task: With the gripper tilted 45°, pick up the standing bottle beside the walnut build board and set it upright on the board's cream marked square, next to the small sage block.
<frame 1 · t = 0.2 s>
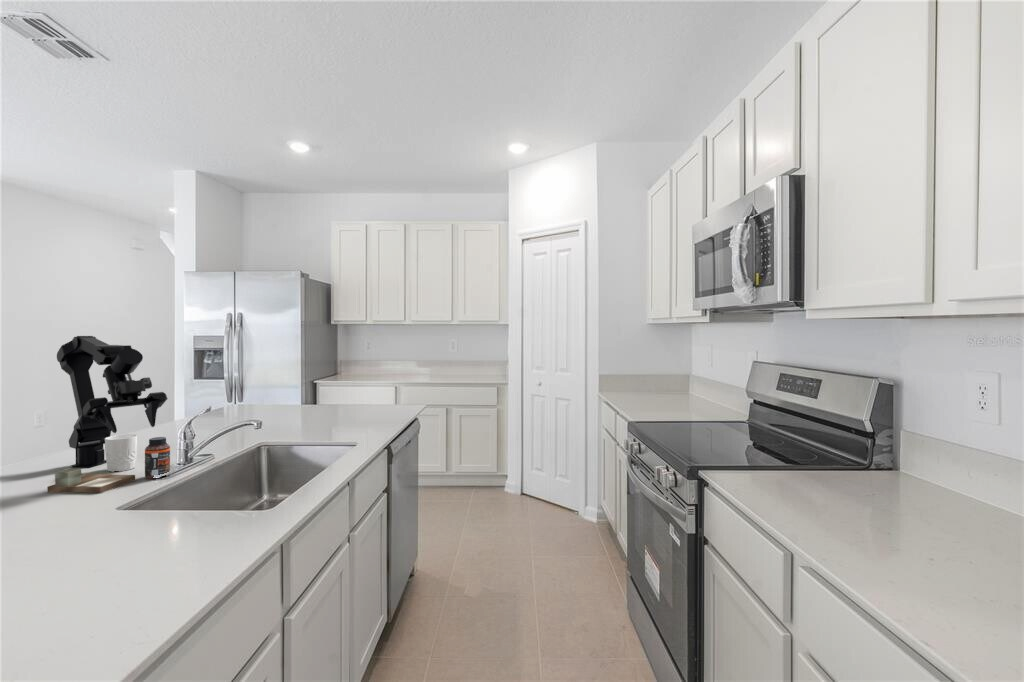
hand: (135, 429, 136), 14 cm above the counter, tool tilted 35°, fingers open, 9 cm apart
build board: (93, 485, 130), on the counter
white cup: (121, 469, 146), on the counter
supplement bottle: (157, 477, 139), on the counter
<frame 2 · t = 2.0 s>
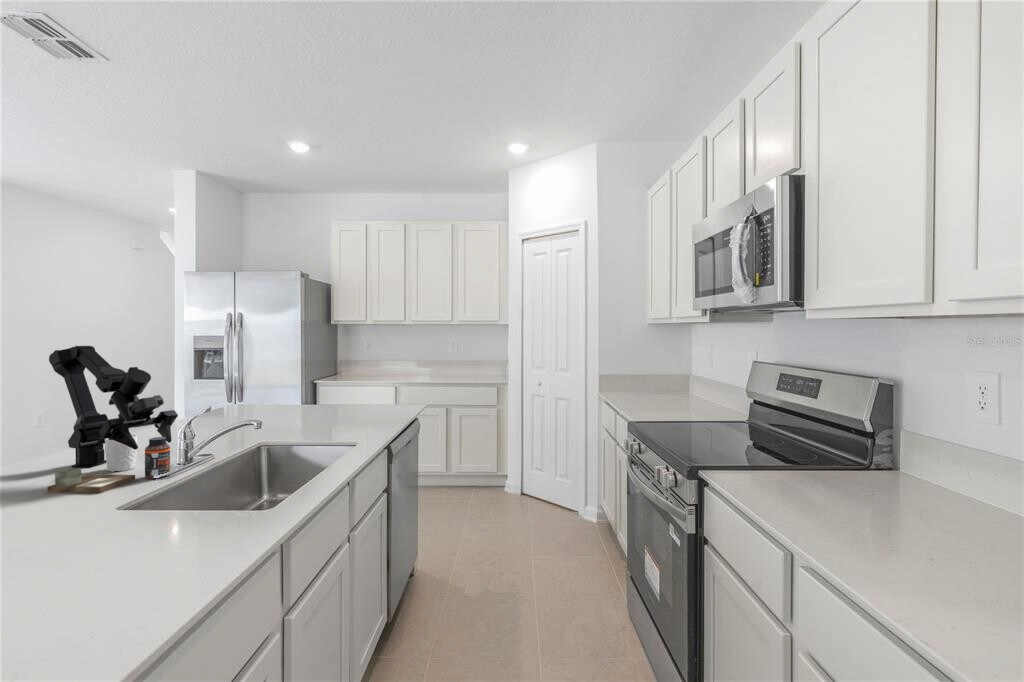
hand: (154, 445, 139), 9 cm above the counter, tool tilted 45°, fingers open, 9 cm apart
nothing on the counter moved.
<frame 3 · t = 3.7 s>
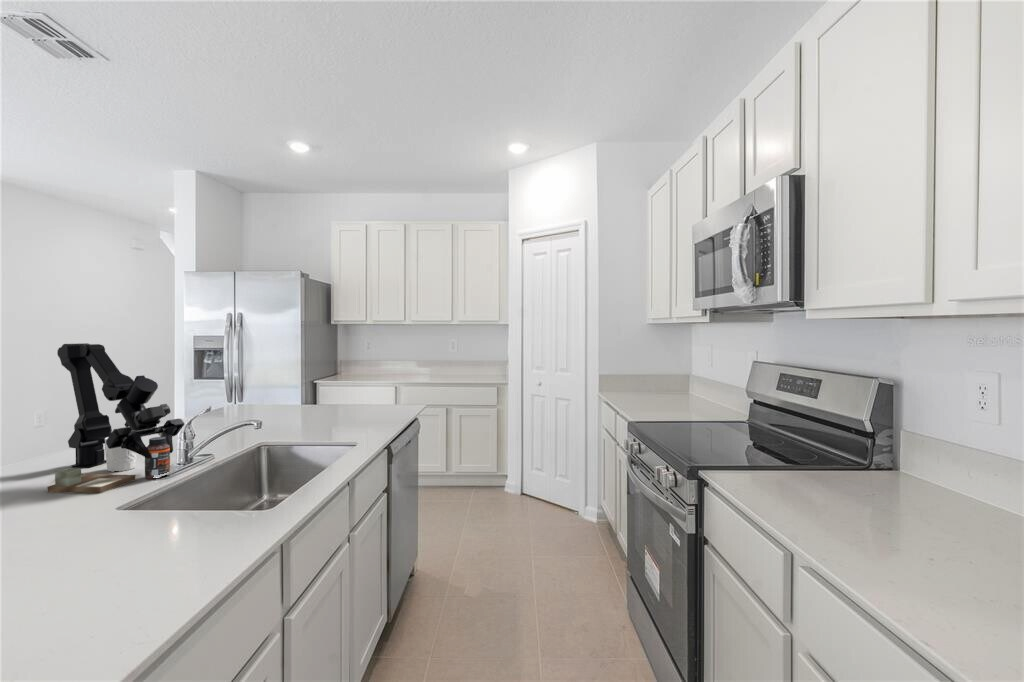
hand: (160, 454, 138), 7 cm above the counter, tool tilted 45°, fingers closed on supplement bottle, 6 cm apart
supplement bottle: (157, 477, 139), on the counter, touching gripper
everything else where it was.
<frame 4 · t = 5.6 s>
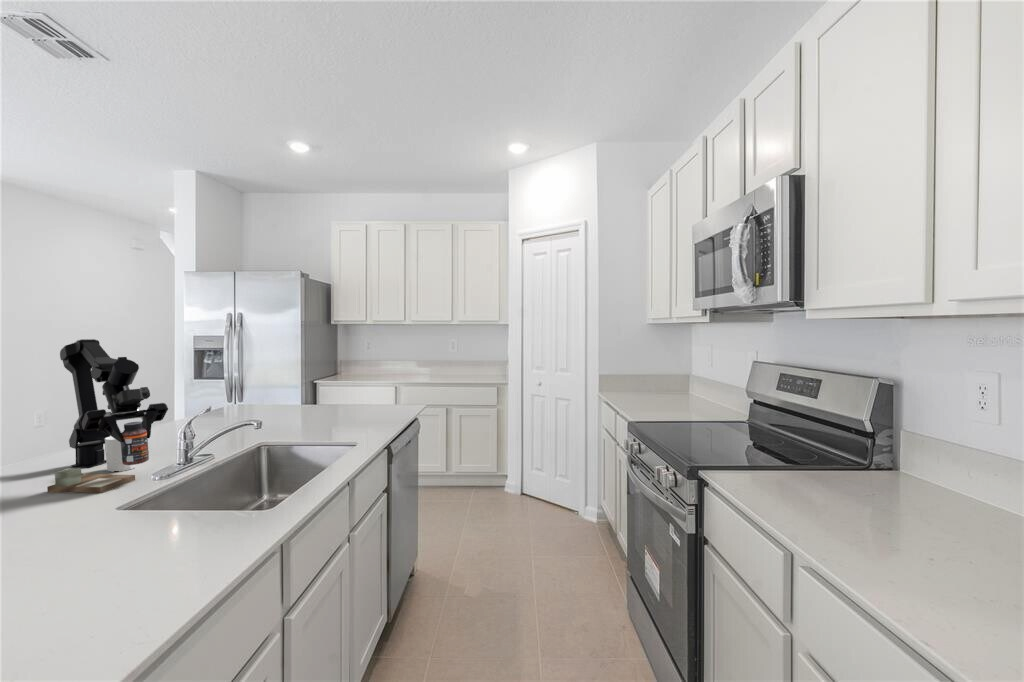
hand: (136, 439, 133), 12 cm above the counter, tool tilted 45°, fingers closed on supplement bottle, 6 cm apart
supplement bottle: (136, 463, 134), point 5 cm above the counter, touching gripper
everything else where it was.
when the fingers open (9 cm above the counter, at t = 7.8 s): supplement bottle stays where it is, resting on build board.
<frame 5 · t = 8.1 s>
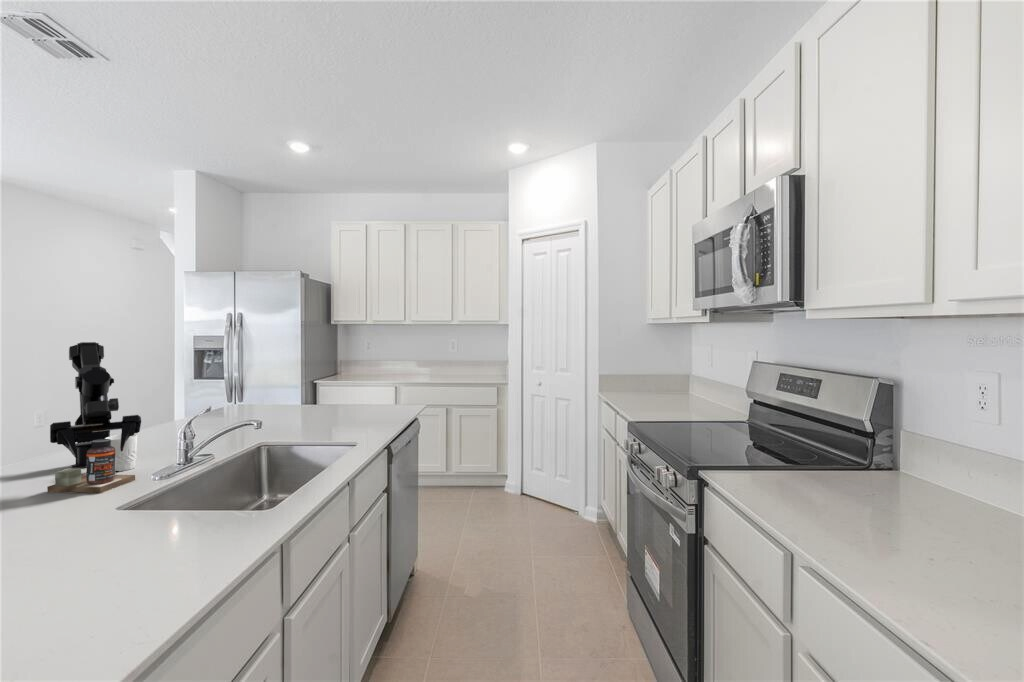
hand: (99, 453, 127), 10 cm above the counter, tool tilted 45°, fingers open, 9 cm apart
supplement bottle: (101, 482, 128), point 2 cm above the counter, touching build board
everything else where it was.
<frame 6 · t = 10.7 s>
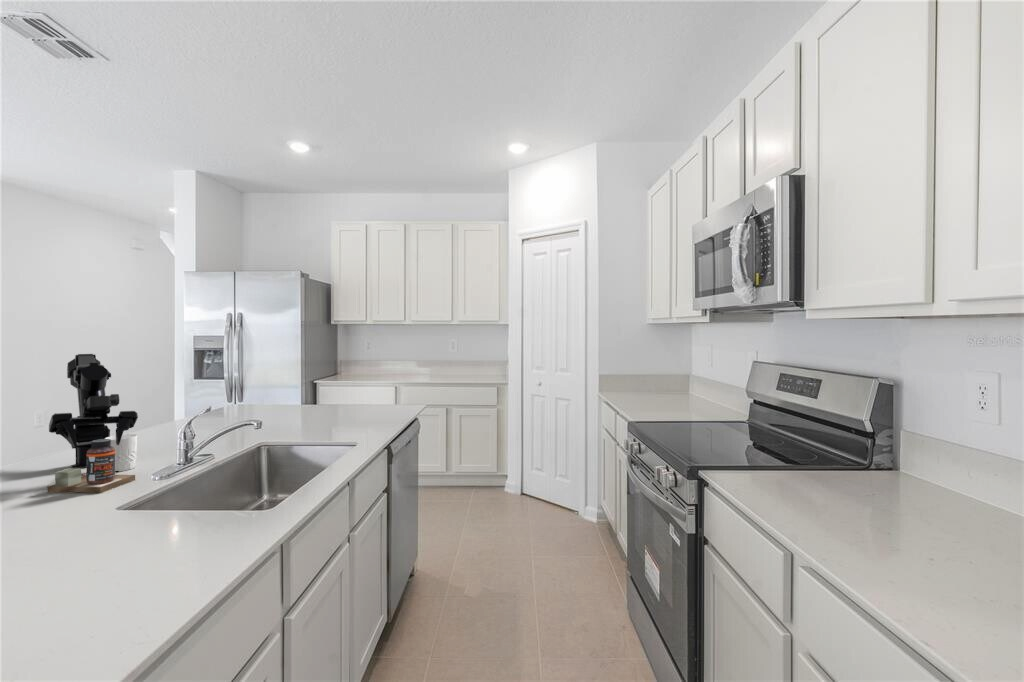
hand: (97, 446, 133), 10 cm above the counter, tool tilted 40°, fingers open, 9 cm apart
nothing on the counter moved.
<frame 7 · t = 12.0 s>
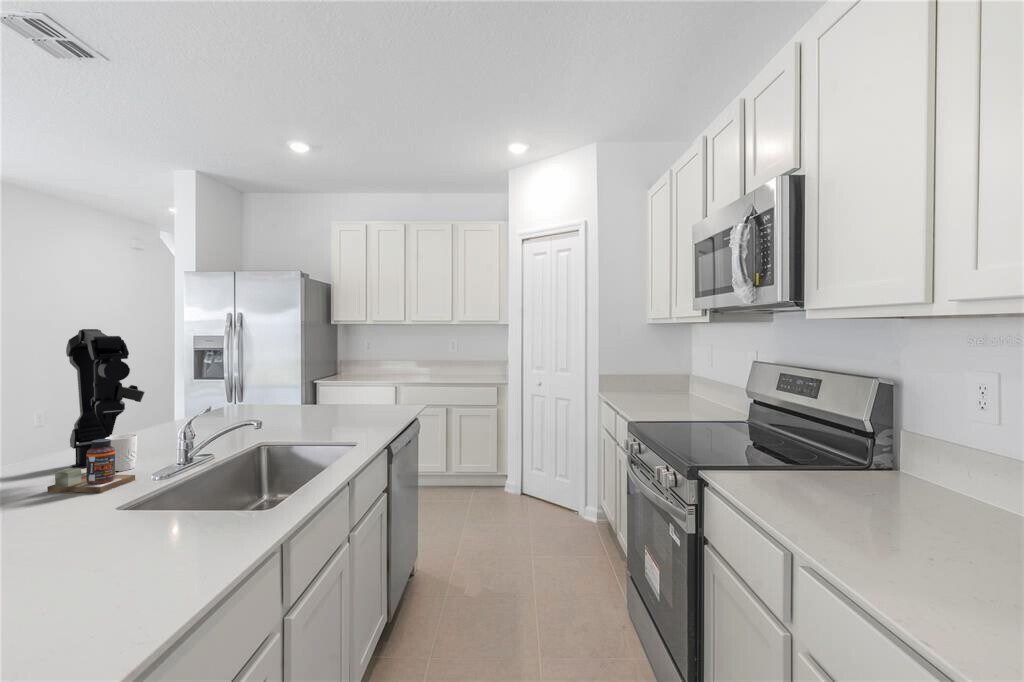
hand: (107, 432, 138), 13 cm above the counter, tool pointing down, fingers open, 9 cm apart
nothing on the counter moved.
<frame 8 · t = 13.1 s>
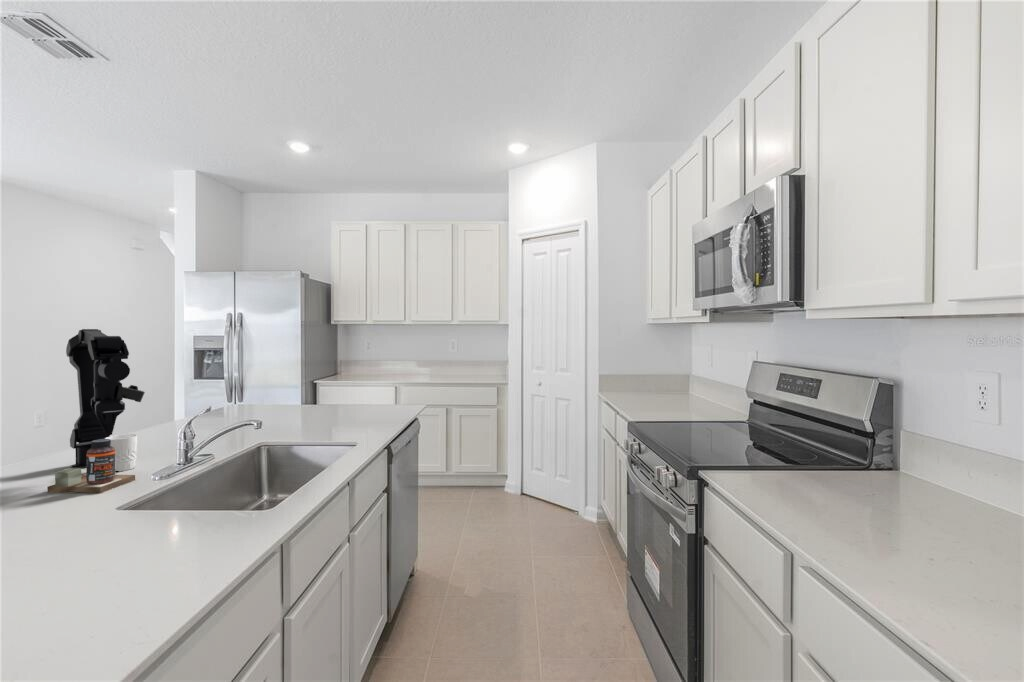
hand: (107, 432, 138), 13 cm above the counter, tool pointing down, fingers open, 9 cm apart
nothing on the counter moved.
at the end: supplement bottle 0.4 cm from the target spot on the build board, point 1.5 cm above the build board's base; supplement bottle tilted 0°; the gripper is holding nothing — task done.
